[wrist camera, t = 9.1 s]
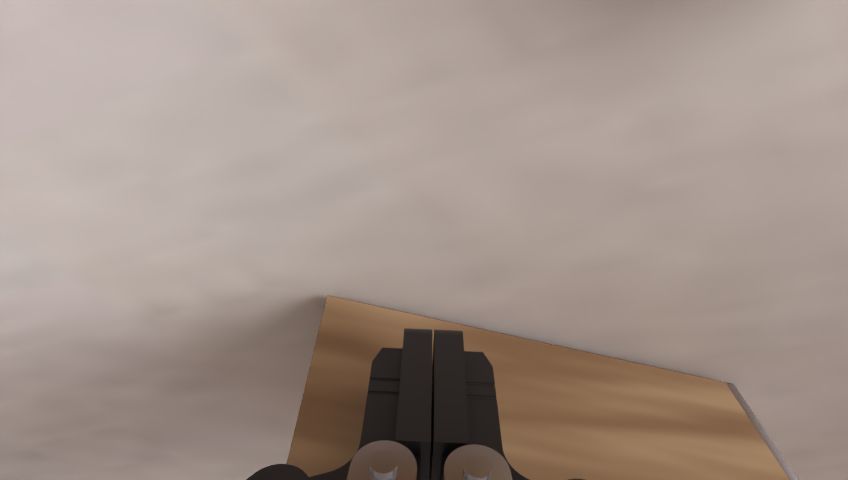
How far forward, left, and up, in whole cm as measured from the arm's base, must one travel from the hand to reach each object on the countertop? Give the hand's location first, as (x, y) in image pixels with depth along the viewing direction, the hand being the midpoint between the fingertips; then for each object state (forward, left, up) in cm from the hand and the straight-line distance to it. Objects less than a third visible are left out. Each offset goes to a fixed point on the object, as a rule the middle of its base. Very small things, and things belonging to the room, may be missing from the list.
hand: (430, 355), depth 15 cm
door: (-3, +3, -4) cm, 6 cm away
